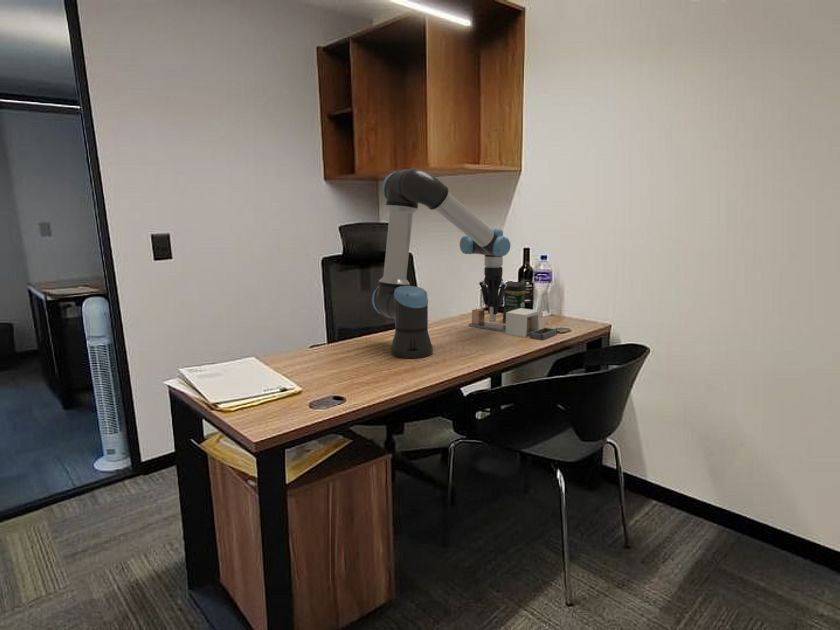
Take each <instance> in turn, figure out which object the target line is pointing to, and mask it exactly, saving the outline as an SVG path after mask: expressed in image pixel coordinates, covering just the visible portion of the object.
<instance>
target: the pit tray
mask: <svg viewBox="0 0 840 630" xmlns="http://www.w3.org/2000/svg"><path fill="white" fill-rule="evenodd" d="M557 332H558V329H556V328H550V327H543V328H539V330H537V331H534V332H531V333H530V334H529V339H532V340H538V341H545V340H546V339H550V338H552V337H554V336H557V335H558V333H557Z"/></svg>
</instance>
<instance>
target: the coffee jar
mask: <svg viewBox="0 0 840 630" xmlns="http://www.w3.org/2000/svg"><path fill="white" fill-rule="evenodd" d="M504 283H505V284H508V286H507V288H506V289H505V294H504V305H503V306H504V307H503V314H502V322H503V323H504V324H506V312H509V311H512V310H516V309H519V308H523V309H526V306H525V301H526V299H525V298H526V293H527V286H526V283H524V282H518V281H506V282H504Z"/></svg>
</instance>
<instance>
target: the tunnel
mask: <svg viewBox="0 0 840 630" xmlns="http://www.w3.org/2000/svg"><path fill="white" fill-rule="evenodd" d="M540 313H541V310H538V309H537V310H536V309H531V308H525V309H523V308H519V309H516V310H512V311H509V312H506V323H505V326H506V332H505V335H510V336H515V337H521V338H527V336H528V335H527V318H531V330H534V331H537V330H539V329H540V320H541V319H540V317H541V316H540V315H541V314H540Z"/></svg>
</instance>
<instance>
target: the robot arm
mask: <svg viewBox="0 0 840 630" xmlns="http://www.w3.org/2000/svg"><path fill="white" fill-rule="evenodd" d="M382 193H383V197H385V200H386V204H385V207H386V208H387V210H388V211H389V215H388V223H387V224H388V225H387V227H388V228H387V237H386V248H385V257H384V267H383V276H382V277H381V278H380V279H379V280H378V285H377V287H376V289H375V290H374V291H373V292H372V293H373V294H372V295H371V296H372V297H371V303H372V307H373V308H374V310H375V311H376V312H377V313H378V314H379V315H381V316H383V317H385V318H389V319H392V320H394V335H393V339H392V342H391V345H390V354H391V355H392V356H393V357H397V358H399V359H400V358H401V359H421V358H426V357H428V356H431V355H433V354H434V346H433V344H432V341H431V337H430V334H429V331H428V328H429V321H428V320H429V319H428V318H429V315H428V314H429V312H428V310H429V309H428V307H429V306H428V305H429V297H428V293H427V291H426V290H425V289H424V288H422V287H420V286H413V285H410V282H409V280H407V276H408V275H407V274H408V266H409V265H408V264H409V256H410V255H409V254H410V248H411V247H410V246H411V236H412V227H413V217H414V216H413V215H414V214H415V213H416V212H417V211H418V208H419V204H421V205H423V206H425V207H427V208H428V209H429V210H431V211H436V212H437V213H439V215H440V216H442V217H444V218H445V220H447V221H449V222H450V223H451V224H452V225H453V226H455V227H456V228H457V229H458V230H459V231H461V232H462V234H465V235H463V236H461V238H460V239H459V249H460V251H461V252H462V254H465V255H474V254H475V255H484V269H483V272H484V279H483V280H482V281H480V282H479V286H480V289H481V294H482V298H483V303H484V304H483V305H486V306H487V311H488V312H487V313H488V314H489V323H495V322H497V314H498V310H499V307H500V306H502V305H503V303H504V299H505V295H504V294H505V289H506V288H507V286H508V284H505V283H506V282H504V280H503V270H504V269H503V263H504V262H503V261H504V258H503V257H505V256H506V255H507V254H509V252H510V250H511V242H510V239H509V238H508V237H506V236H504V231H503V230H502V229H501V228H490V227H489V226H488V225H487V224H486V223H484V222H483V221H482V220H481V219H480V218H478V217H477V216H476V215H475V214H474V212H471V211H470V210H469V208H467V207H466V206H465V205H464V204H462V203H461V202H460V201H459V200H458V199H457V198H455V196H453V194H451V193H450V189H449V187H448V186H446V185H445V184H444V183H443V182H442V181H441V180H439V179H438V178H437V177H436V176H434V175H433V174H431V173H430V172H428V171H426V170H424V169H421V168H417V167H416V168H409V169H398V170H395V171H394V172H391V173H389V175H387V176H386V178H385V179H384V181H383V183H382Z"/></svg>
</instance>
